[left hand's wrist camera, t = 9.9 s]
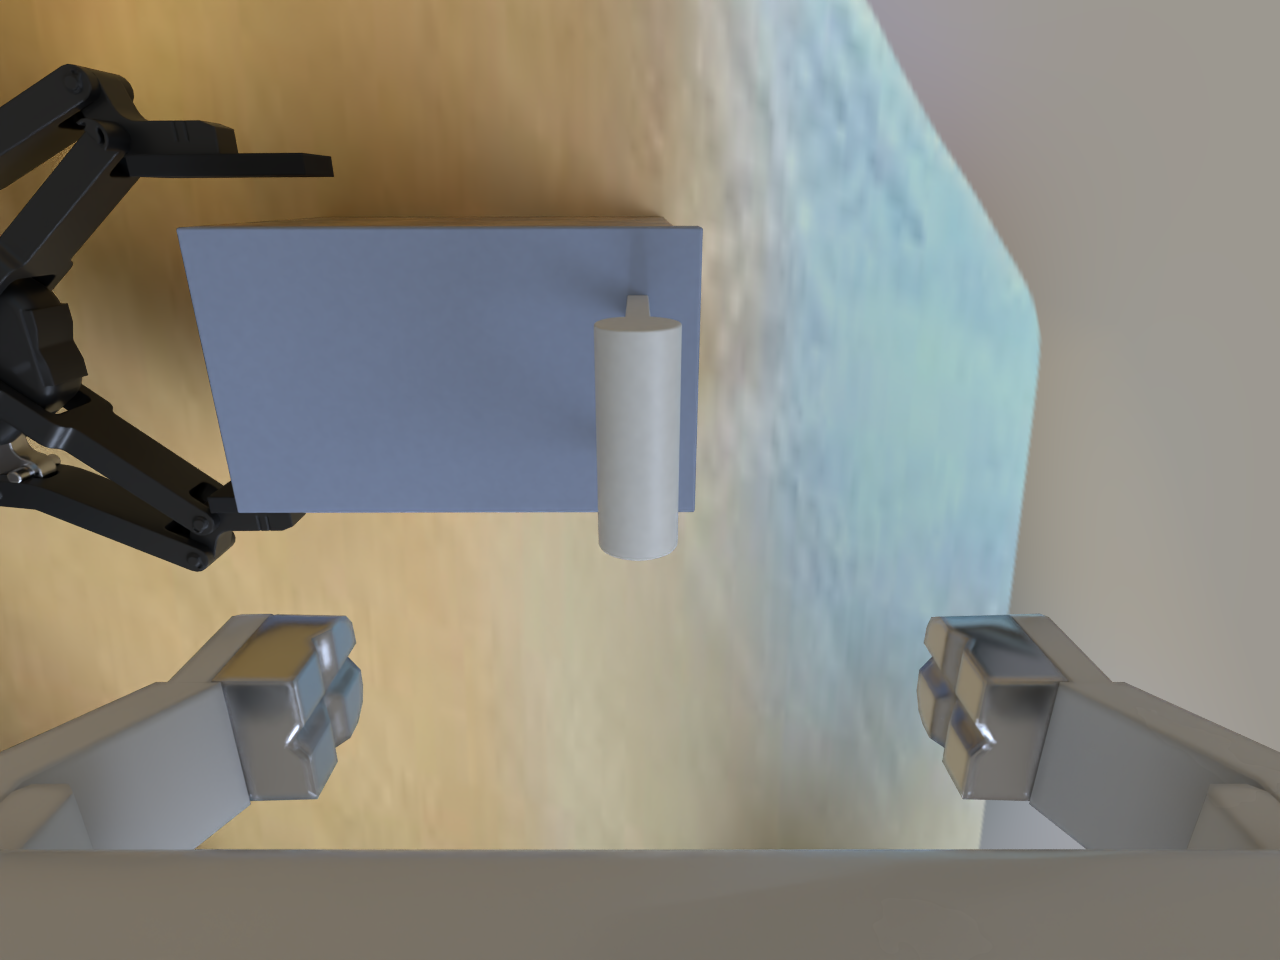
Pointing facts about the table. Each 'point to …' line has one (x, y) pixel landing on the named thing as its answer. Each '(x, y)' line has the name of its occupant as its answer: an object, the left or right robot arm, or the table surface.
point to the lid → (456, 369)
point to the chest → (464, 221)
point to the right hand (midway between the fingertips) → (347, 342)
